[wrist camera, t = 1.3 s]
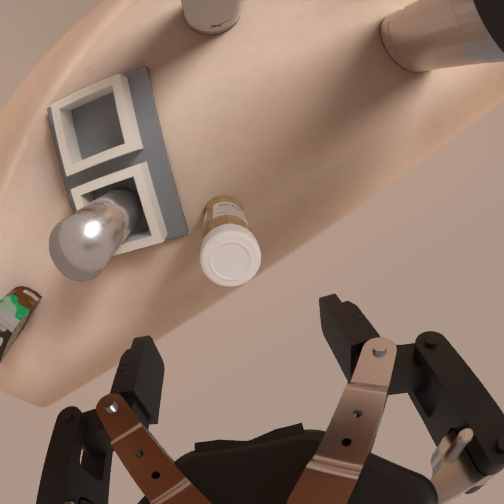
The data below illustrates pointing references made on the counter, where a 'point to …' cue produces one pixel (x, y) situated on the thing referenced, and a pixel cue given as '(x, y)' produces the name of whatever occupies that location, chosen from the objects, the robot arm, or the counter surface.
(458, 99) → the counter surface
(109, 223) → the cylinder
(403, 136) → the counter surface
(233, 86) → the counter surface
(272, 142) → the counter surface
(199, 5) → the travel mug
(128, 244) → the grey and white holder
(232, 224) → the sprinkles bottle
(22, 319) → the food container
